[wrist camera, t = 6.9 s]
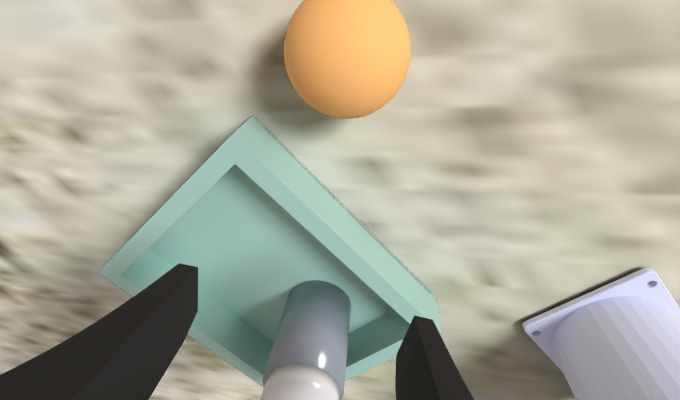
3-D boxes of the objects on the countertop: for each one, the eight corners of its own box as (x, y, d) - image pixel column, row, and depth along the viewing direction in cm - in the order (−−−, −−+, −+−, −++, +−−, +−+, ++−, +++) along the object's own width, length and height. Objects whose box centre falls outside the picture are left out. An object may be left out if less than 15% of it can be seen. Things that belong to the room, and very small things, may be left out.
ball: (428, 51, 16) (446, 71, 12) (347, 121, 18) (337, 160, 14) (356, -47, 15) (346, -64, 10) (275, 42, 17) (239, 58, 12)
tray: (435, 296, 23) (442, 334, 21) (299, 369, 29) (291, 406, 26) (252, 115, 19) (231, 134, 16) (128, 242, 24) (97, 272, 21)
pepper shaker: (364, 311, 24) (359, 415, 18) (316, 335, 26) (296, 438, 20) (322, 269, 23) (302, 367, 17) (274, 298, 25) (239, 396, 18)
